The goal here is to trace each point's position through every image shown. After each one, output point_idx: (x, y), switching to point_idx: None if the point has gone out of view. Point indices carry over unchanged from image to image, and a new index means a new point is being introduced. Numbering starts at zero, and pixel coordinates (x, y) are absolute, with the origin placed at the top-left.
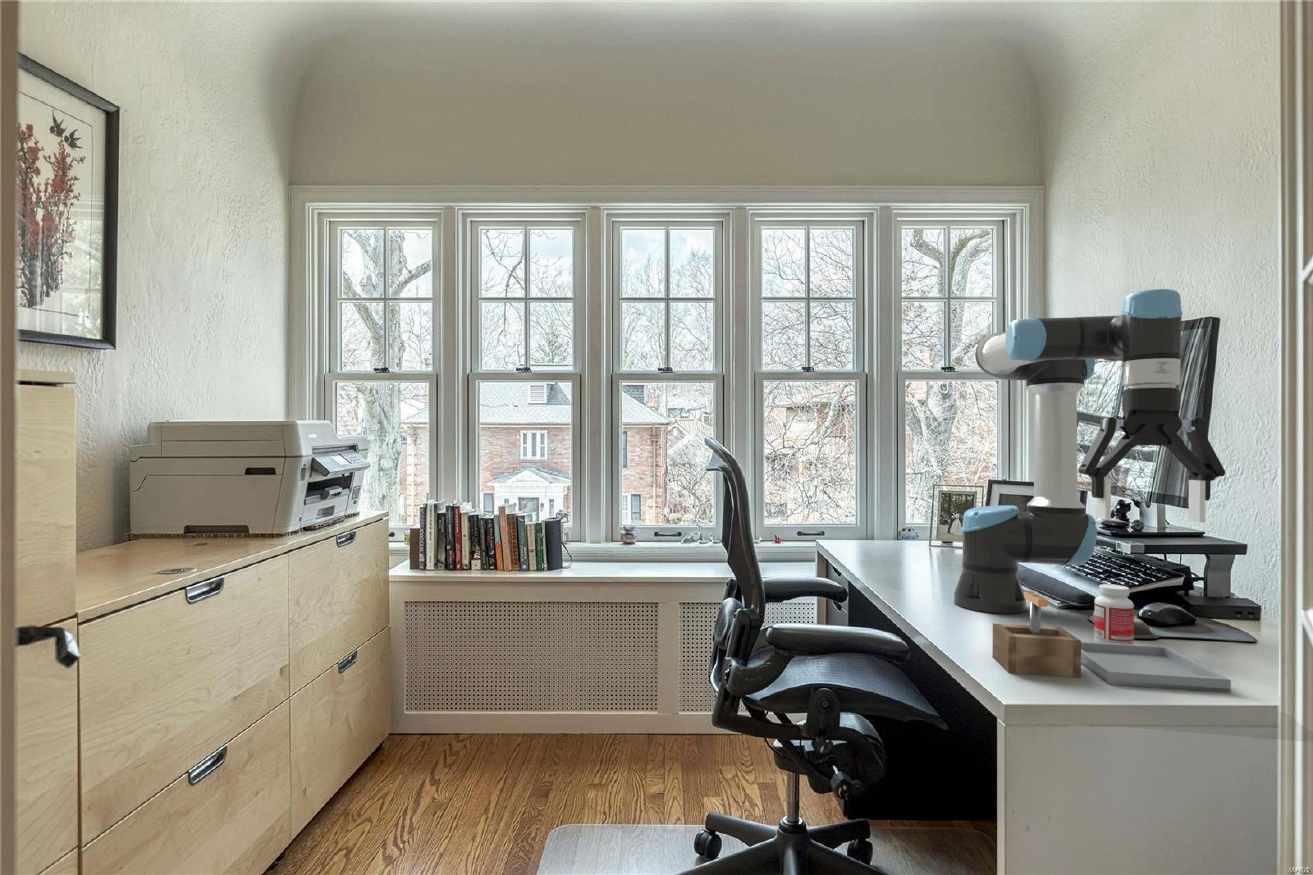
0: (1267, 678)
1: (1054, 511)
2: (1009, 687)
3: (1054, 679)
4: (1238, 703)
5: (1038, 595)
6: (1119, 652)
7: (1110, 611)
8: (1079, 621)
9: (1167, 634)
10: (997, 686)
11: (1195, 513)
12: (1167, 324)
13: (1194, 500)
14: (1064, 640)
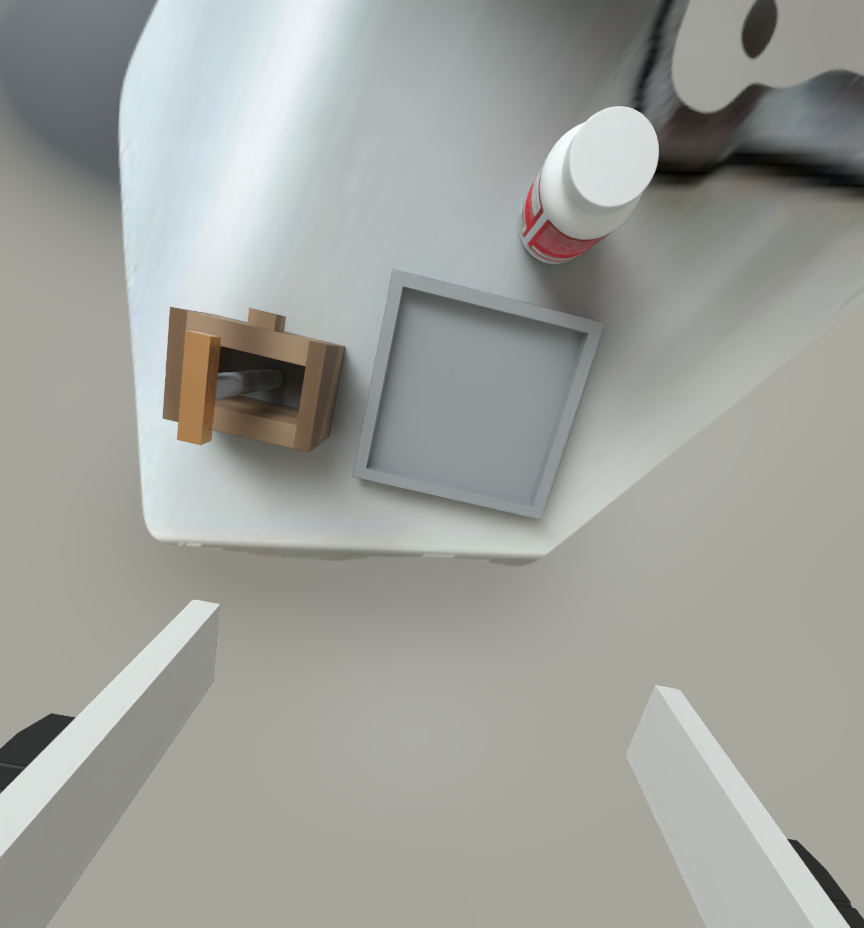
0: (676, 449)
1: None
2: (177, 477)
3: None
4: (505, 549)
5: (201, 393)
6: (500, 313)
7: (546, 226)
8: None
9: (784, 125)
10: (158, 472)
11: (656, 770)
12: None
13: (708, 848)
14: (277, 443)
